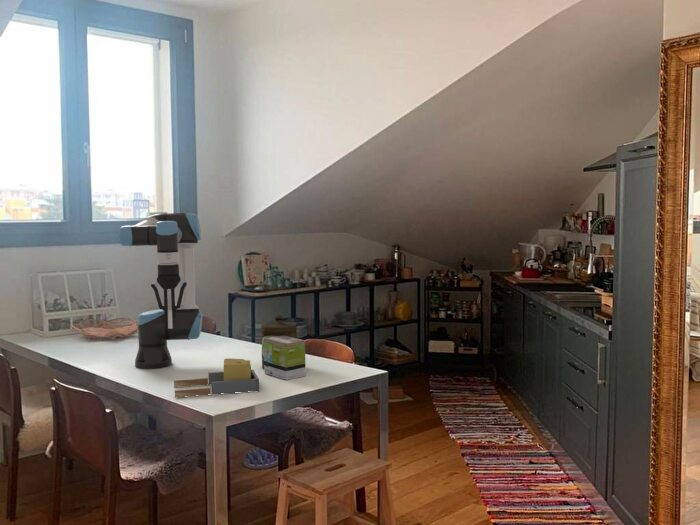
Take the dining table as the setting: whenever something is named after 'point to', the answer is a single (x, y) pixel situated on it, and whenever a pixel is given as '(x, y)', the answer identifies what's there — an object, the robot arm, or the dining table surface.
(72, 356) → the dining table surface
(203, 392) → the lane rails
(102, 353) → the dining table surface
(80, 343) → the dining table surface
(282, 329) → the wooden container
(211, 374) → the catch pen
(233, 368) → the cheese
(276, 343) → the tea box
